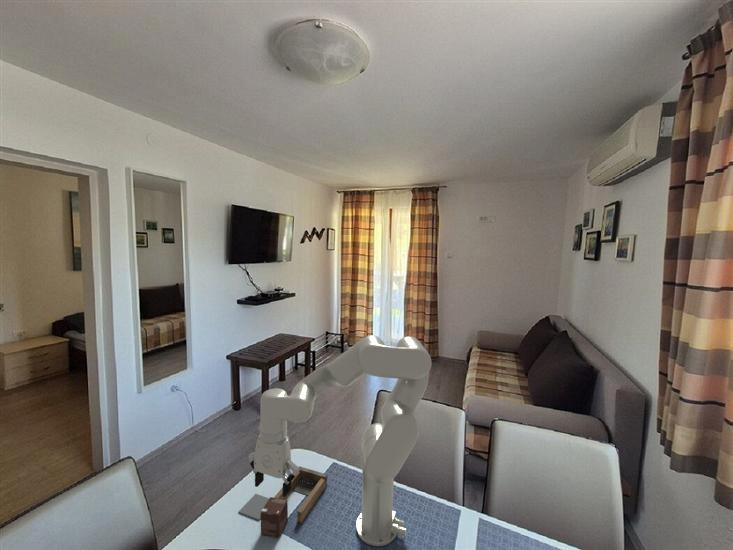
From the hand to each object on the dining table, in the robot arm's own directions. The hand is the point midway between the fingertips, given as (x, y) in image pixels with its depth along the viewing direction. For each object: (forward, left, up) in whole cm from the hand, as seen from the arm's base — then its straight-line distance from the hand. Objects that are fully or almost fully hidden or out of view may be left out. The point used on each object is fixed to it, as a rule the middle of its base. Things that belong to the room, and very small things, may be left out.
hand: (272, 488), depth 92 cm
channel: (0, -14, -14) cm, 20 cm away
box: (0, -1, -14) cm, 14 cm away
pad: (+11, -6, -14) cm, 18 cm away
